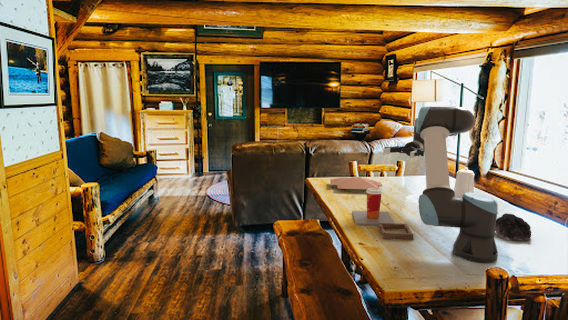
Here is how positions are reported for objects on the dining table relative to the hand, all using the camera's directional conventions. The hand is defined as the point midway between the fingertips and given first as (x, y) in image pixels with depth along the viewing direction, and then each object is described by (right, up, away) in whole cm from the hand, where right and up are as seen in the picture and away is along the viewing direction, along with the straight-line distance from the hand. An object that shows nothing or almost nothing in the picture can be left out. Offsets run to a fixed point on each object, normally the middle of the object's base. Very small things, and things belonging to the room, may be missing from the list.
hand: (397, 153), depth 172 cm
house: (-8, -22, +58) cm, 62 cm away
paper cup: (-11, -31, +2) cm, 33 cm away
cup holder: (-6, -36, -17) cm, 40 cm away
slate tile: (-11, -32, +2) cm, 34 cm away
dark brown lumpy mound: (+44, -36, -19) cm, 60 cm away
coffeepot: (+50, -26, +35) cm, 66 cm away
